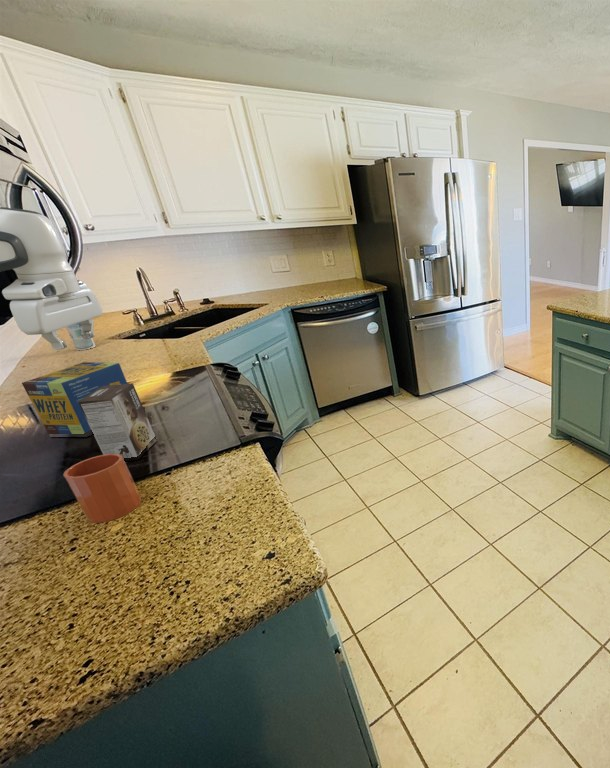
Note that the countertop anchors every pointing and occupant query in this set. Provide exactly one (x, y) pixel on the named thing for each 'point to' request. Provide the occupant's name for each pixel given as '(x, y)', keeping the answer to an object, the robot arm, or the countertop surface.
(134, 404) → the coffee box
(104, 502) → the cup
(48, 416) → the protein box
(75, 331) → the spray can
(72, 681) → the countertop surface
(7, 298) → the robot arm
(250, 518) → the countertop surface
